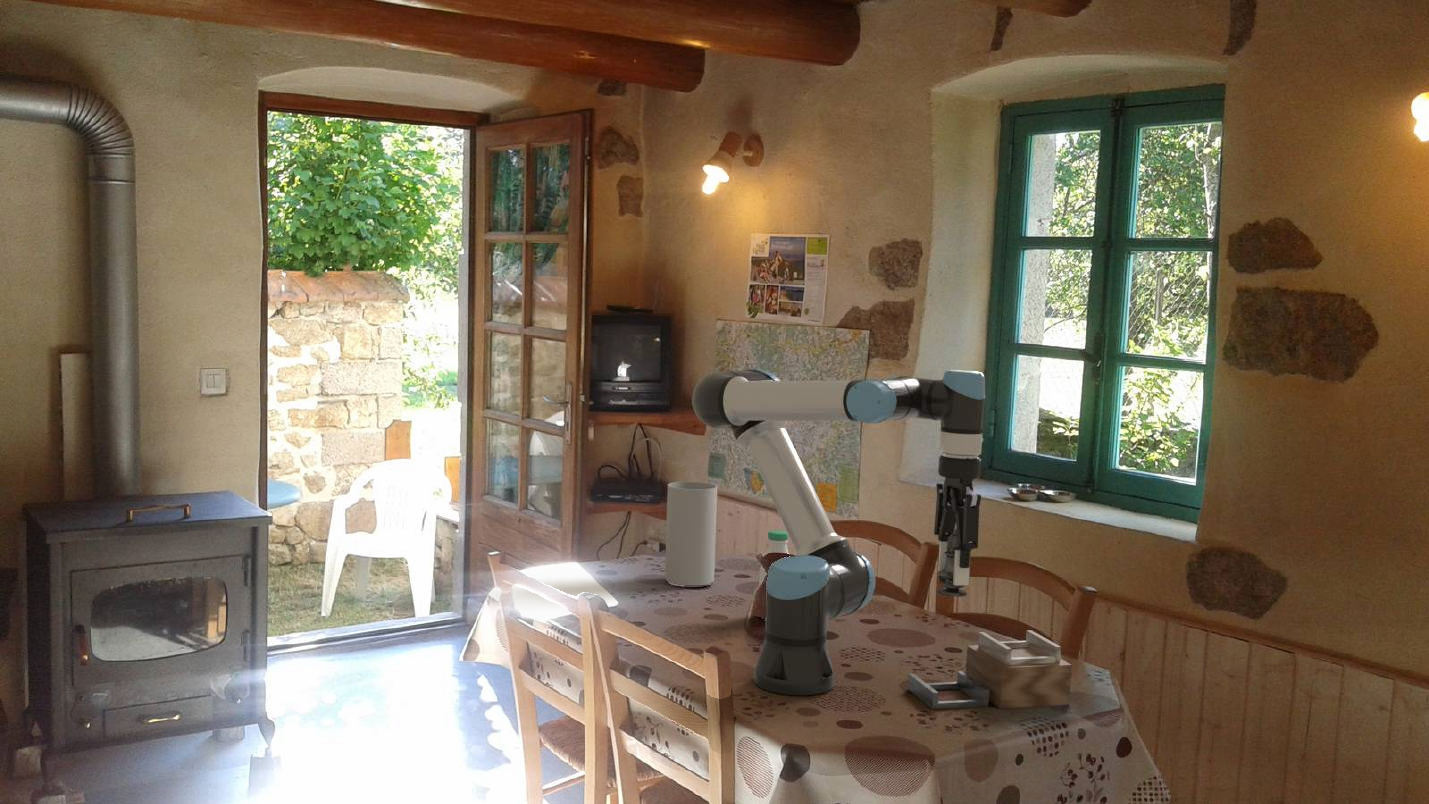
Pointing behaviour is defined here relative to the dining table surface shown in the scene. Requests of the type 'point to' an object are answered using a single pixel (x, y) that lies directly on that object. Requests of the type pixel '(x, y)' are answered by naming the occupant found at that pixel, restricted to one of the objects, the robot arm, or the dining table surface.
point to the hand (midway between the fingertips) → (953, 580)
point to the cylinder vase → (690, 533)
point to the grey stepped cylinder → (950, 570)
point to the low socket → (963, 683)
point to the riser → (1020, 671)
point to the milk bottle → (775, 547)
